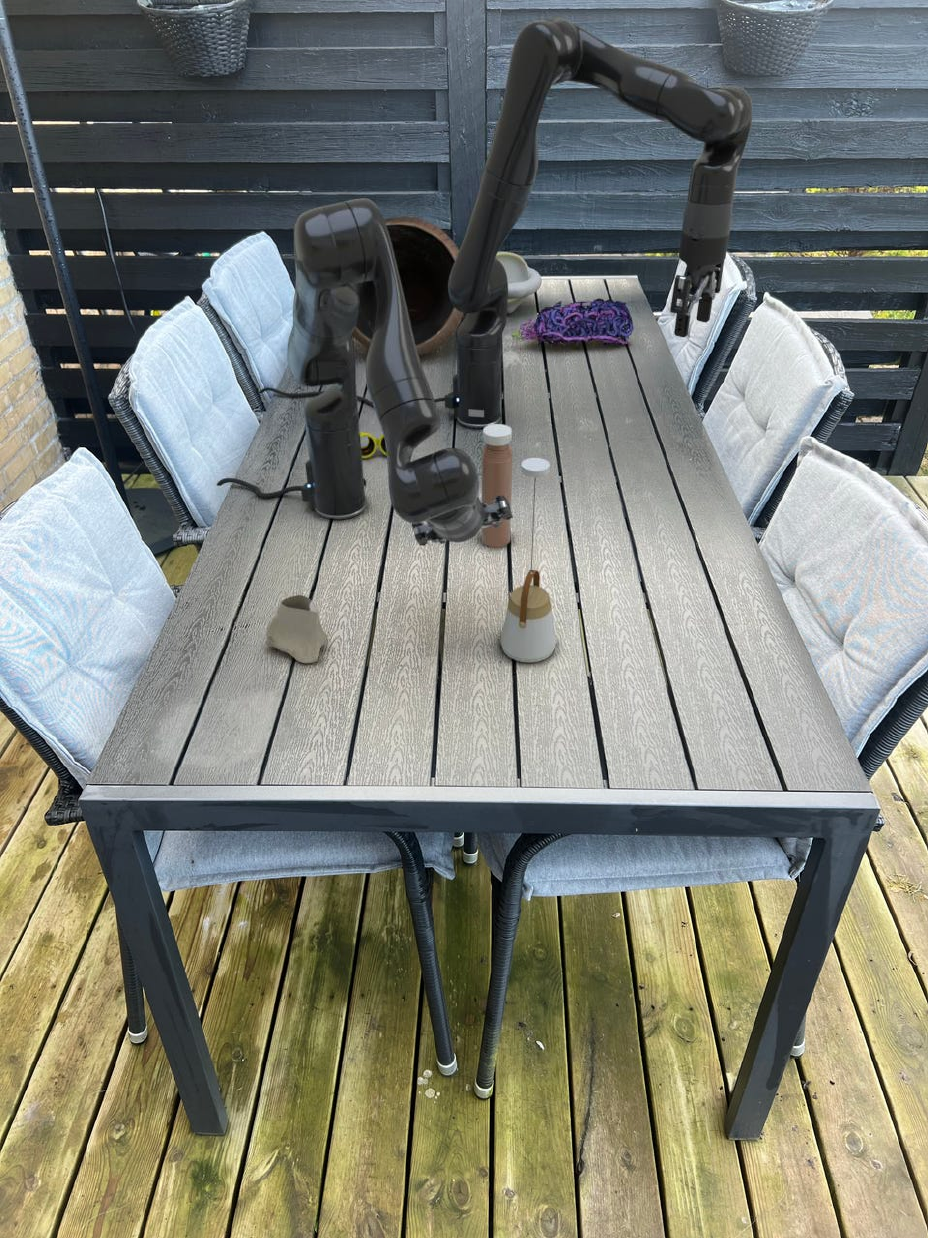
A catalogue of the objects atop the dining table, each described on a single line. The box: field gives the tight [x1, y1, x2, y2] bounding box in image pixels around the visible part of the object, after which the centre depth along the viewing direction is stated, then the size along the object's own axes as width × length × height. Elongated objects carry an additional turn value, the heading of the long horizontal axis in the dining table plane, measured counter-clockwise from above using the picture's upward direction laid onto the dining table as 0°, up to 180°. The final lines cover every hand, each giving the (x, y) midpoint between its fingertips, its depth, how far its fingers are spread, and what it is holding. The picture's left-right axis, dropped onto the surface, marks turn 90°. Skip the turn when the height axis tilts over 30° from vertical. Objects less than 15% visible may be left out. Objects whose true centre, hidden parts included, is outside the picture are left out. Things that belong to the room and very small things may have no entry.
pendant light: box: [499, 457, 557, 663], centre depth 128 cm, size 8×8×30 cm
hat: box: [495, 251, 543, 314], centre depth 248 cm, size 25×22×15 cm
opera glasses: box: [360, 431, 387, 459], centre depth 185 cm, size 10×5×5 cm, turn 95°
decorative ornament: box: [510, 298, 634, 347], centre depth 229 cm, size 13×11×30 cm
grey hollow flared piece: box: [265, 594, 328, 664], centre depth 135 cm, size 9×8×10 cm
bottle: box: [481, 443, 513, 548], centre depth 155 cm, size 5×5×20 cm
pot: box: [352, 215, 465, 357], centre depth 229 cm, size 32×32×30 cm
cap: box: [482, 423, 513, 446], centre depth 149 cm, size 5×5×2 cm
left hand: (468, 528), depth 141 cm, fingers open, 8 cm apart
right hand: (691, 328), depth 160 cm, fingers open, 8 cm apart
